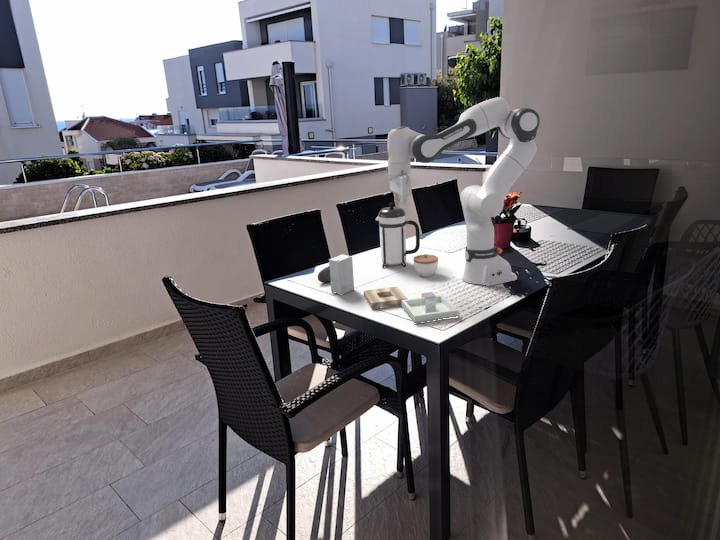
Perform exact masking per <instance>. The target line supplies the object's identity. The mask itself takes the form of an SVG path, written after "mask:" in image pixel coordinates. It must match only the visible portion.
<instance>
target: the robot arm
mask: <svg viewBox="0 0 720 540" xmlns="http://www.w3.org/2000/svg"><path fill="white" fill-rule="evenodd" d="M540 123H541V120H540V115H539V114H538V112H537V111H536V110H534V109H533V108H529V107H522V108H517V109H512V108H510V105H509V103H508V101H507V100H506V99H505V98H503V97H499V96H497V97H493V98H489V99H487V100H484V101H482V102H479V103H477V104H474V105H472V106H471V107H469V108H468V109H465V110H464V111H463V112H462V113H461V114H460V116H459V118H458V121H457V122H456V123H455V124H454V125H452V126H450V127H448V128H446V129H444V130H442V131H440V132H439V133H436V134H423V133H419V132H417V131H415V130H412V129H410V128H409V127H408V126H405V125H403V126H398V127H394V128H392V129H390V131H389V132H388V133H387V134H388V135H387V143H386V144H387V153H388V159H387V167H386V173H387V180H388V181H387V182H388V187H389V190H390V191H392V193H393V196H394V202H395V203H396V204H397V203H400V205H401V207H402V208H403V207H405V208H406V207H407V203H408V202H407V201H408V197H410V196H412V192H413V191H412V181H411V177H410V176H409V175H411V174H412V172H411V171H412V170H411V161H412V160H411V159H416V160H417V161H418V162H420V163H423V164H427V163H431V162H434V161H435V160H436V159H437V158H438V157H439V156H440V154H442V152H444V151H445V150H446V149H448V148H450V147H453V146H454V145H456V144H458V143H460V142H462V141H464V140H466V139H470V138H473V137H477V136H479V135H482V134H483V133H486V132H488V131H490V130H492V129H494V128H496V129H497V130H498V132H499V133H500V135H501V136H503V138H506V139H509V143H508V145H507V147H506V148H505V149H504V150H503V152H502V153H501V154H500V155H499V156H498V158H497V159H496V161H494V163H493V164H492V165H491V167H490V168H489V169H488V175H487V177H486V179H485V181H484V183H483V184H482V185H479V184H471V185H469V186H466V187H465V188H464V189H463V190H462V191H461V193H460V196H459V197H460V202H461V204H462V205H461V206H462V208H463V215H464V216H463V217H464V220H465V228H466V246H465V249H464V250H465V252H464V254H465V255H464V257H465V266H464V270H463V275H462V278H461V279H462V280H463V281H464V282H466V283H468V284H472V285H473V284H474V285H482V286H485V285H486V286H487V287H489V286H490V285H491V286H495V285H500V284H505V283H509V282H513V281H516V280H518V276H517V275H516V273H515V272H512V267H511V264H510V263H509V262H508V261H507V260H506V259H504V258H503V257H502V256H500V255H499V254H503V253H502V252H503V248H500V247H497V246H495V227H494V225H493V222H492V218H494V217H497V216H498V215H500V214H501V213H502V212H503V210H504V204H505V199H506V196H507V195H508V193H509V191H510V189H511V187H512V186H513V184H514V183H515V182H516V181H517V180H518V178H520V176H521V175H522V173H523V172H524V171H525V170H526V169H527V168H528V166H529V165H530V163H531V162H532V160H533V159H534V156H535V155H536V153H537V151H538V147H537V144H536V143H535V141H534V139H535V138H537V133H538V129H539V128H540V127H539V126H540ZM400 197H401V198H400Z"/></svg>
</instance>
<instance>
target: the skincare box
mask: <svg viewBox="0 0 720 540" xmlns="http://www.w3.org/2000/svg"><path fill="white" fill-rule="evenodd" d="M328 266H329V267H330V279H331V281H330V288H331V289H330V290H331V293H333V292H336V293H339V294H343V293H345V294H346V292H347V293H349V292H351V291H353V289H354V290H355V282H354V266H353V256H351V255H348V254H347V255H346V254H343V253H341V254H339V255H338V256H335V257H332V258H328ZM348 291H349V292H348ZM336 293H335V294H336ZM339 294H338V295H339ZM343 295H344V294H343Z"/></svg>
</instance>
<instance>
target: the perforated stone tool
mask: <svg viewBox="0 0 720 540" xmlns="http://www.w3.org/2000/svg"><path fill="white" fill-rule="evenodd" d="M317 281H318V282H321V283H327V282H328V281H329V282H331V279H330V267H329V265H328V266H326V267H324V268H323V269H321V271H319V272H318V274H317Z"/></svg>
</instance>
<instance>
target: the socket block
mask: <svg viewBox="0 0 720 540" xmlns="http://www.w3.org/2000/svg"><path fill="white" fill-rule="evenodd" d="M364 297H365V298H364ZM363 298H364V299H365V301H366V300H367V301H366V303H367V304H368V303H369V304H368V305H370V306H369V307H370V309H371V308H372V309H371V310H374V309H373V308H378V309H381V308H380V307H386V308H389V307H388V306H393V307H397V306H396V305H401V300H406V299H409V298H408V297H407V296H406V295H405V294H404V292H403V291H402V290H401V289H400V288H399V287H398V286H391V287H384V288H374V289H367V290H363Z"/></svg>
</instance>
